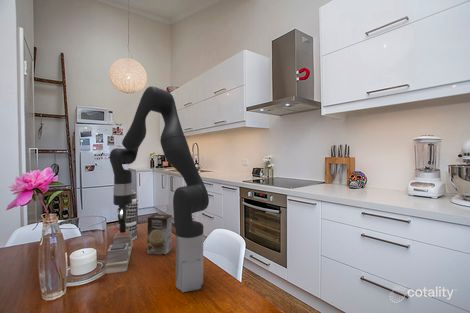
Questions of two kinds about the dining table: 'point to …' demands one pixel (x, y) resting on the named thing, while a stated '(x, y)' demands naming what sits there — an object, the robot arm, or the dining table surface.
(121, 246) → the charcoal plunger
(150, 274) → the dining table surface
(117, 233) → the terracotta plunger
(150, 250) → the coffee box
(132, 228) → the decorative candle
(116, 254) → the button board
